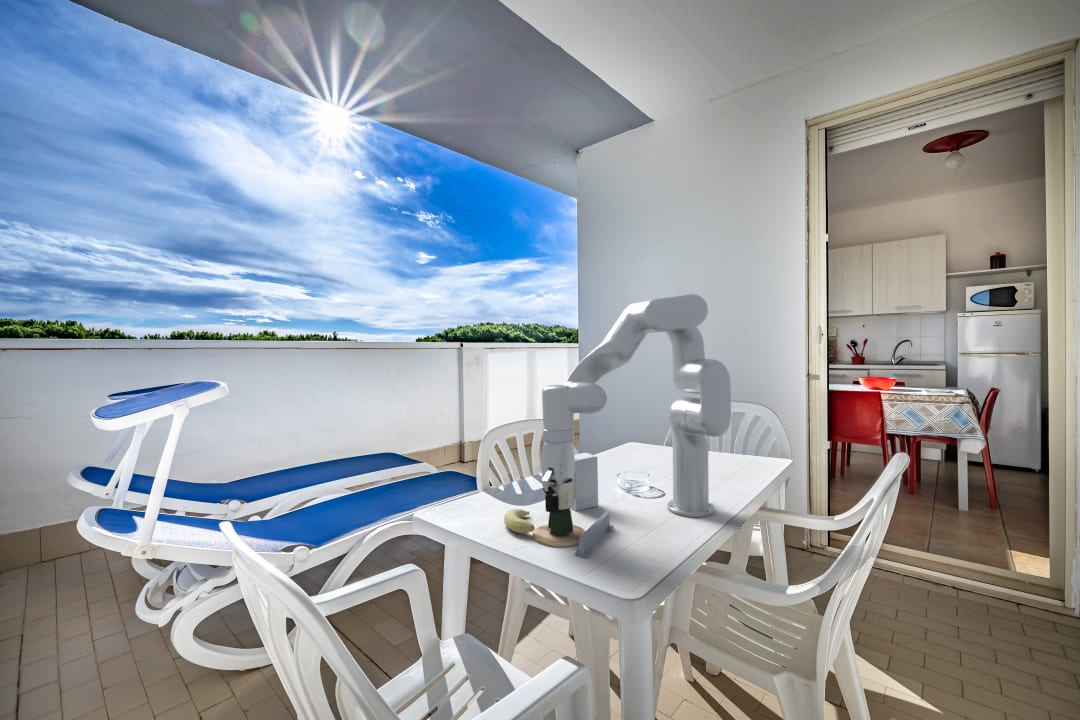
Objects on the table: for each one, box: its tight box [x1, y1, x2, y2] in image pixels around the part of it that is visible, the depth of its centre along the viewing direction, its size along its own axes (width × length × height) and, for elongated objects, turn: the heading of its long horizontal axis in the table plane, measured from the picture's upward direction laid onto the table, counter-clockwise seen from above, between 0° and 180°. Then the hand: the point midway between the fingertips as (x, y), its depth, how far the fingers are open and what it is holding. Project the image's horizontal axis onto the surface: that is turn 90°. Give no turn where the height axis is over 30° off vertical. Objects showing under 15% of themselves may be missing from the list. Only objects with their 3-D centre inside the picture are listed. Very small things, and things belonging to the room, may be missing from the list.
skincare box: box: [570, 452, 599, 512], centre depth 131 cm, size 8×6×15 cm
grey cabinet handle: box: [574, 511, 615, 559], centre depth 107 cm, size 18×3×4 cm, turn 153°
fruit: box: [503, 508, 536, 535], centre depth 116 cm, size 7×15×3 cm, turn 7°
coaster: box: [532, 523, 586, 548], centre depth 110 cm, size 13×13×1 cm
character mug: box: [547, 478, 575, 535], centre depth 110 cm, size 11×7×13 cm, turn 25°
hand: (560, 505), depth 110 cm, fingers open, 9 cm apart
